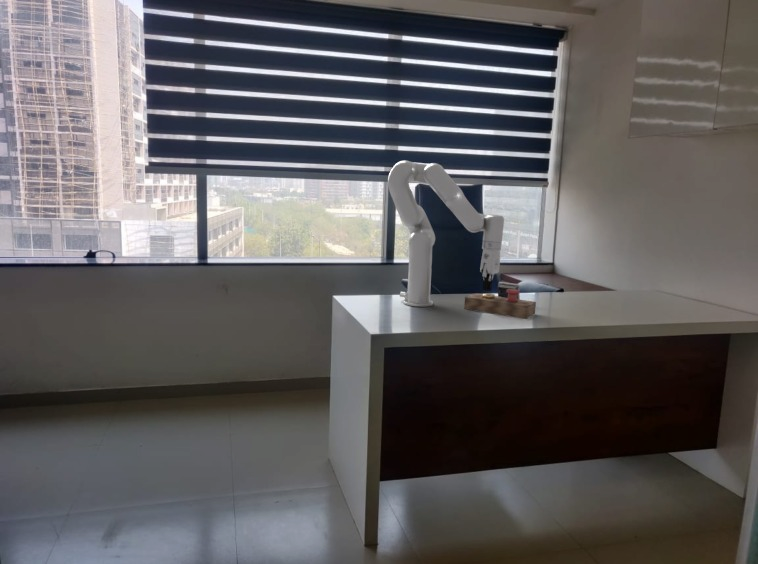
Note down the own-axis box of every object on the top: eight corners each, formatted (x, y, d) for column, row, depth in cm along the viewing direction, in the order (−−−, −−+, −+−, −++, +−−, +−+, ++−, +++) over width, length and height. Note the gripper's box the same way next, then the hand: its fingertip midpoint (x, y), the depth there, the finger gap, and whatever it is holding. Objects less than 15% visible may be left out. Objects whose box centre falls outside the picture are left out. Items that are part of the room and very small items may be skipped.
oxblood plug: (503, 305, 222) (504, 290, 221) (507, 303, 226) (509, 288, 225) (515, 307, 219) (517, 292, 218) (519, 305, 223) (521, 290, 222)
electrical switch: (519, 304, 243) (520, 283, 241) (515, 307, 239) (516, 286, 237) (499, 301, 248) (500, 280, 246) (495, 303, 244) (495, 283, 242)
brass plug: (479, 309, 227) (480, 294, 226) (484, 307, 232) (485, 292, 231) (491, 311, 225) (492, 296, 224) (495, 309, 229) (496, 294, 228)
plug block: (464, 308, 228) (464, 296, 227) (474, 304, 237) (475, 293, 236) (526, 318, 214) (527, 306, 213) (534, 314, 223) (536, 301, 223)
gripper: (493, 247, 216) (488, 294, 219) (507, 245, 228) (502, 289, 231) (475, 245, 220) (471, 291, 223) (489, 243, 232) (485, 286, 235)
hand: (486, 290), depth 227 cm, fingers closed
